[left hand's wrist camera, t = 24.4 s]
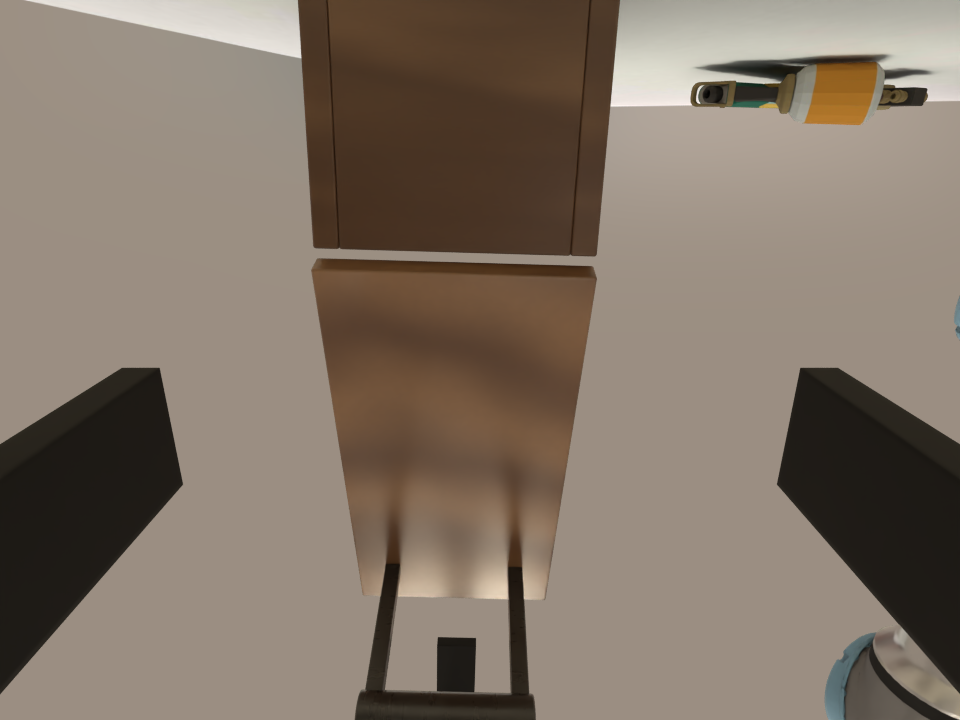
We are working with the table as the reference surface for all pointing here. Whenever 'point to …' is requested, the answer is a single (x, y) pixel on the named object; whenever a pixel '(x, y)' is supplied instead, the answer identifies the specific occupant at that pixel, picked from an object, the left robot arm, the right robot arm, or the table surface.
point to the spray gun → (816, 94)
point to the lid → (453, 442)
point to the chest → (457, 123)
